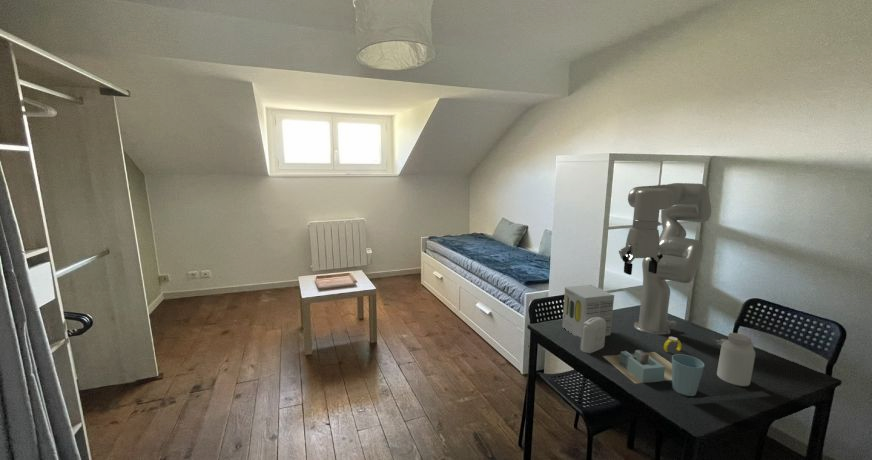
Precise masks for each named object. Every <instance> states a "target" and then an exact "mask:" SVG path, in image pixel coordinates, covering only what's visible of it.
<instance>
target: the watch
mask: <svg viewBox="0 0 872 460" xmlns="http://www.w3.org/2000/svg"><path fill="white" fill-rule="evenodd" d="M672 342H673V343H677V347H676V350H677V351H679V352H680V351H681V350H682V343H681V341H680V340H679V339H678V337H674V336H668V339H667V340H665V341H664V343H663V350H664V351H665V352H666V353H668V346H669V345H670V343H672Z"/></svg>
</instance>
